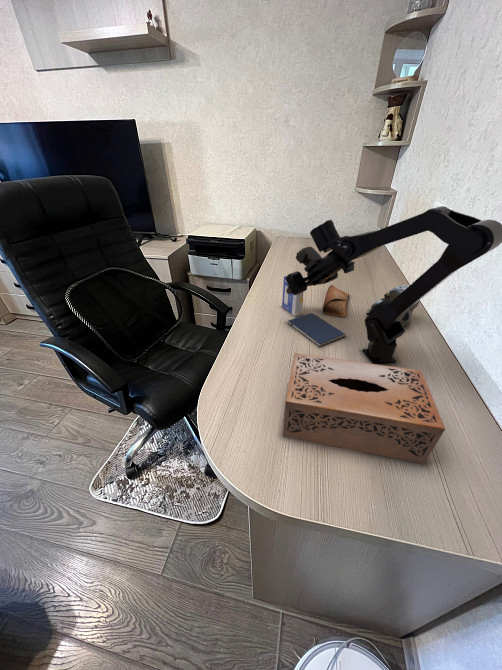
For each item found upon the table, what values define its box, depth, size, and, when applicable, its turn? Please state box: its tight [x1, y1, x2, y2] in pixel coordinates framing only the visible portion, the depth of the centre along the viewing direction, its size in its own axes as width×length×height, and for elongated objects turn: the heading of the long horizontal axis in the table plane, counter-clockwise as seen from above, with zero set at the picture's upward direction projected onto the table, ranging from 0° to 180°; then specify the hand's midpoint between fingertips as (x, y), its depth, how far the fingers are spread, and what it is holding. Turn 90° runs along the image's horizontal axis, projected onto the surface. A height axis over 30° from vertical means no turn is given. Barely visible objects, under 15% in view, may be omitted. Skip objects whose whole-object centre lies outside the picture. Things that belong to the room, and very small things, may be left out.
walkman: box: [281, 275, 304, 317], centre depth 94 cm, size 8×3×12 cm, turn 29°
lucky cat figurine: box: [366, 284, 421, 328], centre depth 89 cm, size 15×12×14 cm
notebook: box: [287, 312, 346, 348], centre depth 87 cm, size 15×10×1 cm
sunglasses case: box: [322, 284, 350, 318], centre depth 100 cm, size 18×7×7 cm
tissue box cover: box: [282, 352, 446, 465], centre depth 56 cm, size 26×14×10 cm, turn 76°
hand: (296, 288), depth 91 cm, fingers open, 9 cm apart
